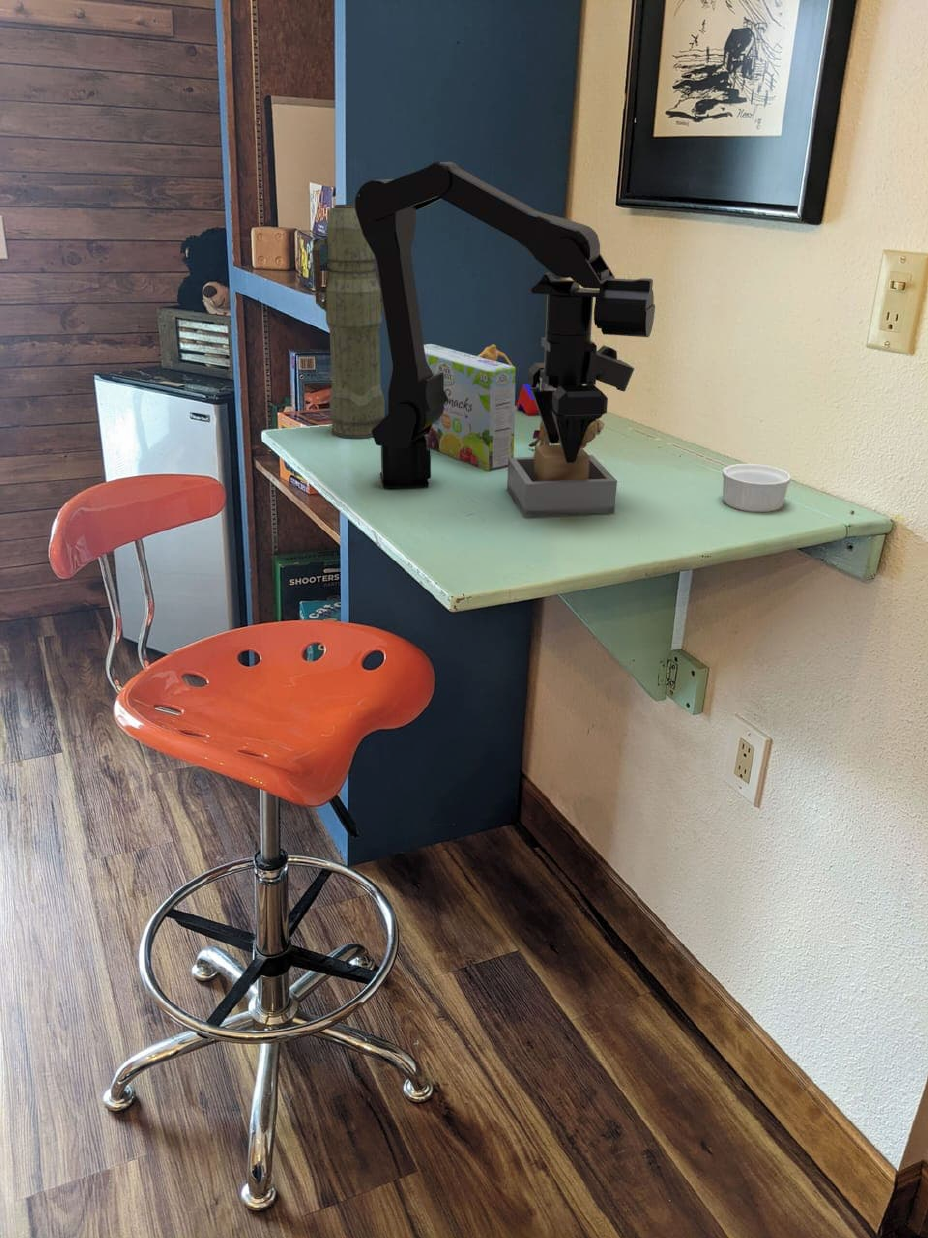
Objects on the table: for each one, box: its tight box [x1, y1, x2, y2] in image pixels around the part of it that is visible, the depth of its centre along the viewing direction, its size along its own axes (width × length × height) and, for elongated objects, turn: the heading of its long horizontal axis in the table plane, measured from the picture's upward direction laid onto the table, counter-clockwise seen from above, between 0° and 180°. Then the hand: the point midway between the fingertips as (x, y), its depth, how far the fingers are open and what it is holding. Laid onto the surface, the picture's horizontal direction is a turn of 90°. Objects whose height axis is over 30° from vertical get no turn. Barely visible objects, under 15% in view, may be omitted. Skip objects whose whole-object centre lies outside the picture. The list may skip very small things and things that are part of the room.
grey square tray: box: [506, 454, 618, 519], centre depth 135 cm, size 12×12×4 cm
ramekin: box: [722, 463, 792, 513], centre depth 136 cm, size 9×9×4 cm
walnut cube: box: [533, 444, 590, 482], centre depth 135 cm, size 6×6×6 cm
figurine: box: [477, 343, 514, 366], centre depth 177 cm, size 8×6×12 cm
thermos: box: [311, 204, 386, 440], centre depth 160 cm, size 9×12×35 cm
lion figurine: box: [528, 418, 606, 449], centre depth 152 cm, size 15×5×9 cm, turn 38°
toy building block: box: [515, 383, 540, 416], centre depth 179 cm, size 4×4×8 cm
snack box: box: [424, 343, 517, 472], centre depth 154 cm, size 21×6×15 cm, turn 37°
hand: (562, 452), depth 133 cm, fingers open, 9 cm apart
